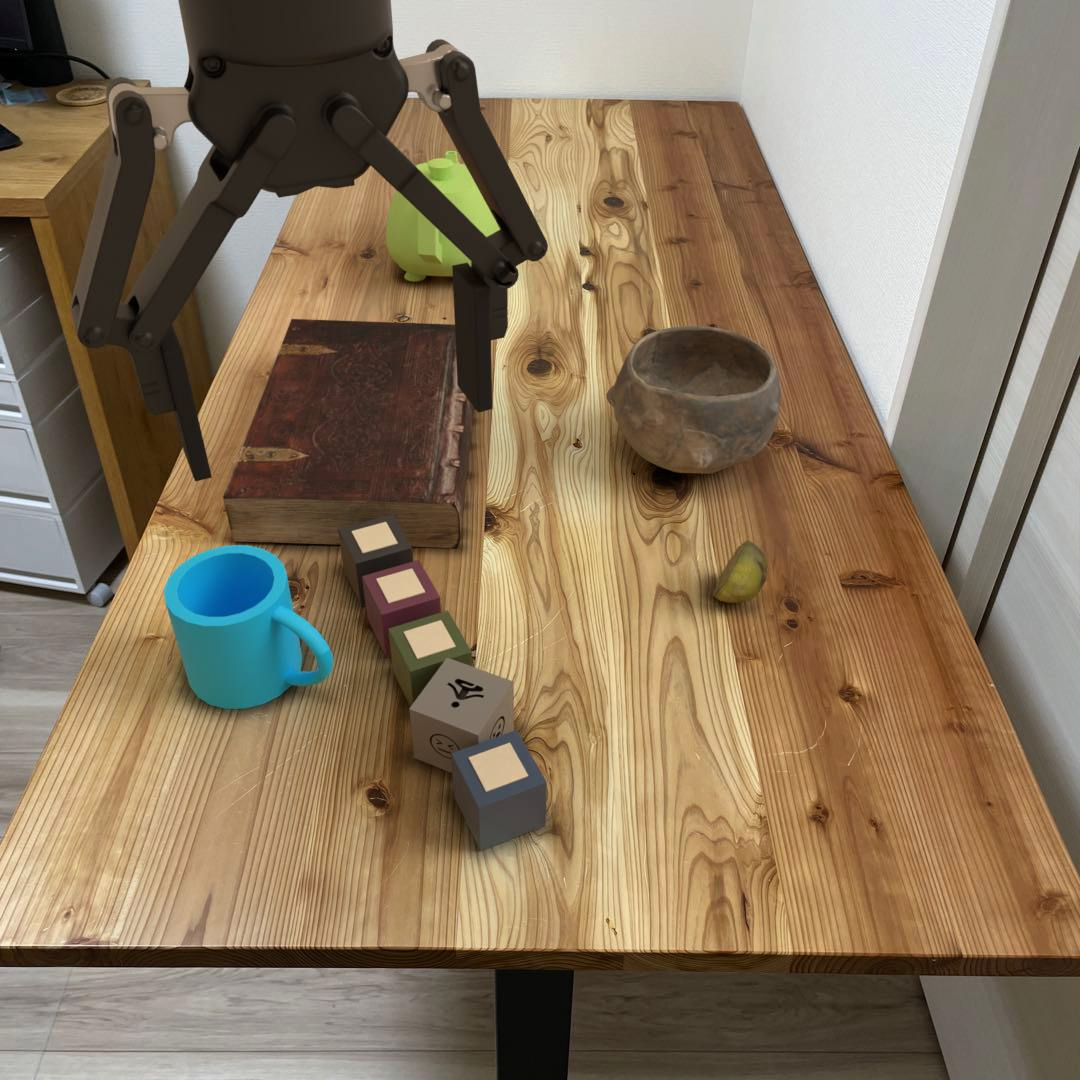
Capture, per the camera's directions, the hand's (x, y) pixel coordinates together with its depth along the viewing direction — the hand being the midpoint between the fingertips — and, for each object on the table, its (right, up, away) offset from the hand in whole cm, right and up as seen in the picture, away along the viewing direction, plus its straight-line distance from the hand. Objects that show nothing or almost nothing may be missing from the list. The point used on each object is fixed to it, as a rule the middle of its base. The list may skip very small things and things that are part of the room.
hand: (342, 429), depth 51 cm
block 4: (+7, -23, +18) cm, 30 cm away
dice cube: (+4, -19, +22) cm, 30 cm away
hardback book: (-6, +3, +49) cm, 49 cm away
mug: (-10, -15, +27) cm, 32 cm away
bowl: (+24, +3, +48) cm, 54 cm away
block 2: (-1, -12, +30) cm, 32 cm away
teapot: (-2, +27, +77) cm, 82 cm away
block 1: (-3, -8, +34) cm, 35 cm away
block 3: (+2, -16, +26) cm, 30 cm away
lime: (+25, -10, +34) cm, 43 cm away
